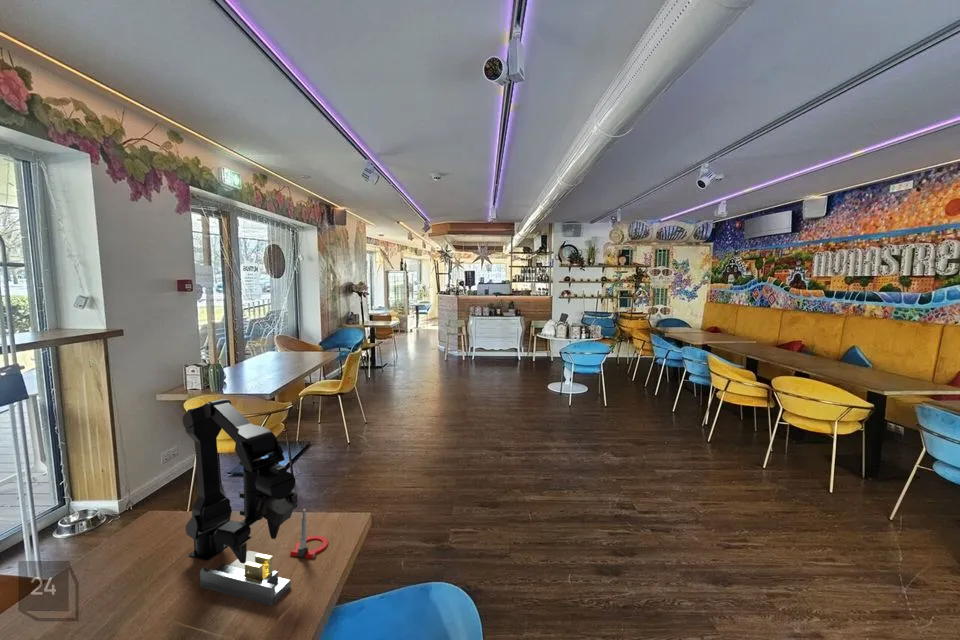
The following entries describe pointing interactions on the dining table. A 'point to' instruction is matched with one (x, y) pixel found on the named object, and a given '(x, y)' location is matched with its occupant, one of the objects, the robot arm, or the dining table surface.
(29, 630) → the dining table surface
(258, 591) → the rack flange
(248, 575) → the bracket
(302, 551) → the tow hook
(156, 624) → the dining table surface
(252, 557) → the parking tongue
